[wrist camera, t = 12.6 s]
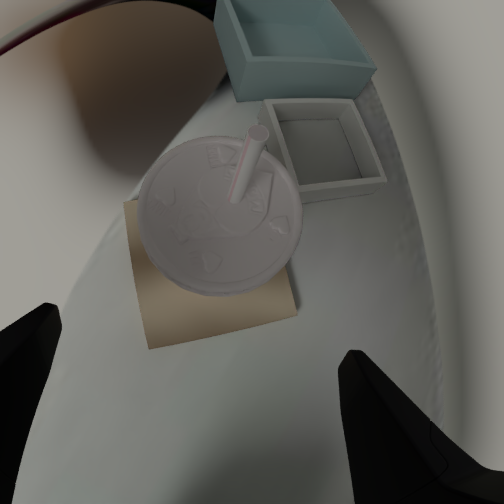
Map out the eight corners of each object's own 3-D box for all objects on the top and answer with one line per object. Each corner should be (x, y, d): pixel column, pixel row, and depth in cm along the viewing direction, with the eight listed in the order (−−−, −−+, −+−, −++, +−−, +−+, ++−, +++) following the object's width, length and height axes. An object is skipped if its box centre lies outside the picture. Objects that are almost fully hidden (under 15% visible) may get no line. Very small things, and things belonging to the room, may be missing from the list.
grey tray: (372, 193, 26) (387, 181, 23) (284, 206, 24) (294, 193, 21) (341, 114, 27) (352, 99, 25) (257, 117, 25) (264, 99, 23)
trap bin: (354, 100, 28) (377, 68, 23) (236, 102, 25) (246, 61, 20) (314, 27, 30) (328, -3, 25) (213, 24, 27) (219, -12, 23)
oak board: (294, 315, 22) (297, 315, 21) (150, 348, 20) (148, 349, 19) (259, 183, 24) (261, 178, 23) (125, 206, 21) (123, 202, 21)
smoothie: (274, 272, 21) (400, 186, 8) (195, 329, 20) (206, 335, 6) (219, 197, 22) (262, 36, 9) (140, 247, 20) (71, 117, 7)
